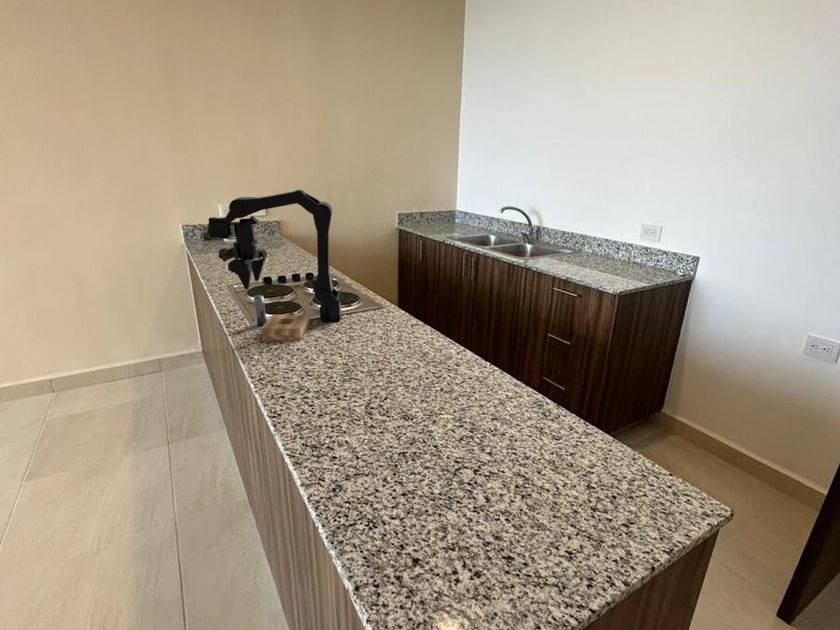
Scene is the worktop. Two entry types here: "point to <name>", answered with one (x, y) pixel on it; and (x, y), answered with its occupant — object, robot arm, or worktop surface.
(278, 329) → the socket block
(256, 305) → the pin
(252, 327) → the mat
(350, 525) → the worktop surface
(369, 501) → the worktop surface
